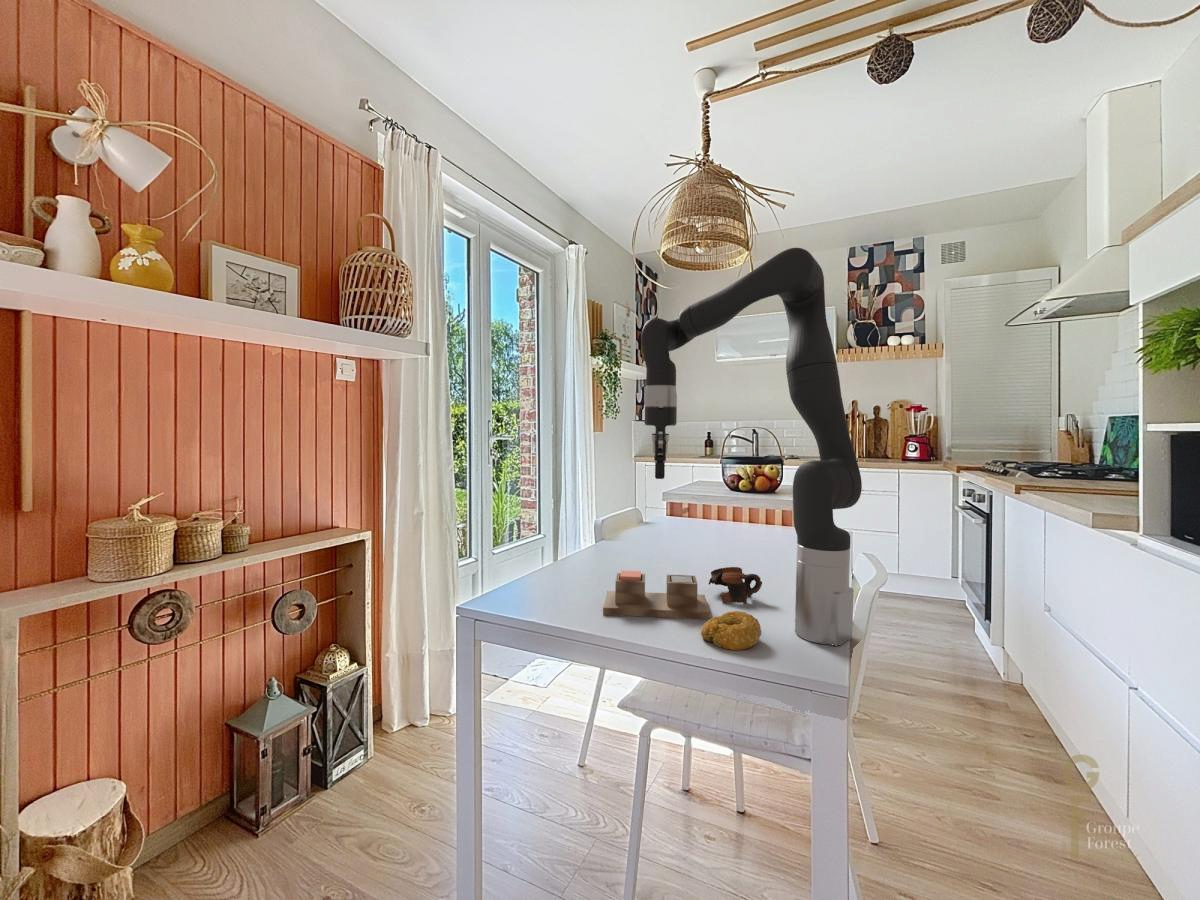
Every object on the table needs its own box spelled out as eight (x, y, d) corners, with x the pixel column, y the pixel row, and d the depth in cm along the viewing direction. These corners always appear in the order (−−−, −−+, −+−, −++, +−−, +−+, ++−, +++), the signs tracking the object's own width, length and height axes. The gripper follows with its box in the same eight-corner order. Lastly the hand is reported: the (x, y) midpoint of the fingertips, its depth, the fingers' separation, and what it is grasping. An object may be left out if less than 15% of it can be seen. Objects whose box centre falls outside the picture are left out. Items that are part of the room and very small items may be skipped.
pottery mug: (709, 605, 117) (703, 569, 121) (717, 611, 125) (711, 577, 129) (763, 597, 113) (756, 560, 117) (768, 604, 121) (761, 569, 125)
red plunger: (640, 593, 116) (641, 571, 116) (640, 600, 112) (640, 577, 111) (620, 592, 116) (621, 570, 116) (619, 599, 112) (620, 576, 112)
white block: (690, 598, 115) (691, 576, 115) (692, 605, 111) (692, 582, 110) (670, 598, 115) (671, 575, 115) (671, 604, 111) (671, 581, 111)
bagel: (704, 627, 103) (704, 603, 103) (762, 635, 100) (762, 610, 99) (696, 647, 94) (696, 621, 94) (760, 656, 90) (760, 629, 90)
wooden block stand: (704, 601, 118) (704, 572, 118) (709, 619, 107) (710, 587, 107) (607, 597, 120) (607, 569, 120) (603, 614, 109) (603, 583, 109)
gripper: (645, 406, 130) (644, 475, 131) (644, 404, 117) (643, 481, 118) (675, 406, 130) (674, 476, 130) (678, 404, 116) (677, 481, 117)
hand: (659, 478), depth 124 cm, fingers closed
